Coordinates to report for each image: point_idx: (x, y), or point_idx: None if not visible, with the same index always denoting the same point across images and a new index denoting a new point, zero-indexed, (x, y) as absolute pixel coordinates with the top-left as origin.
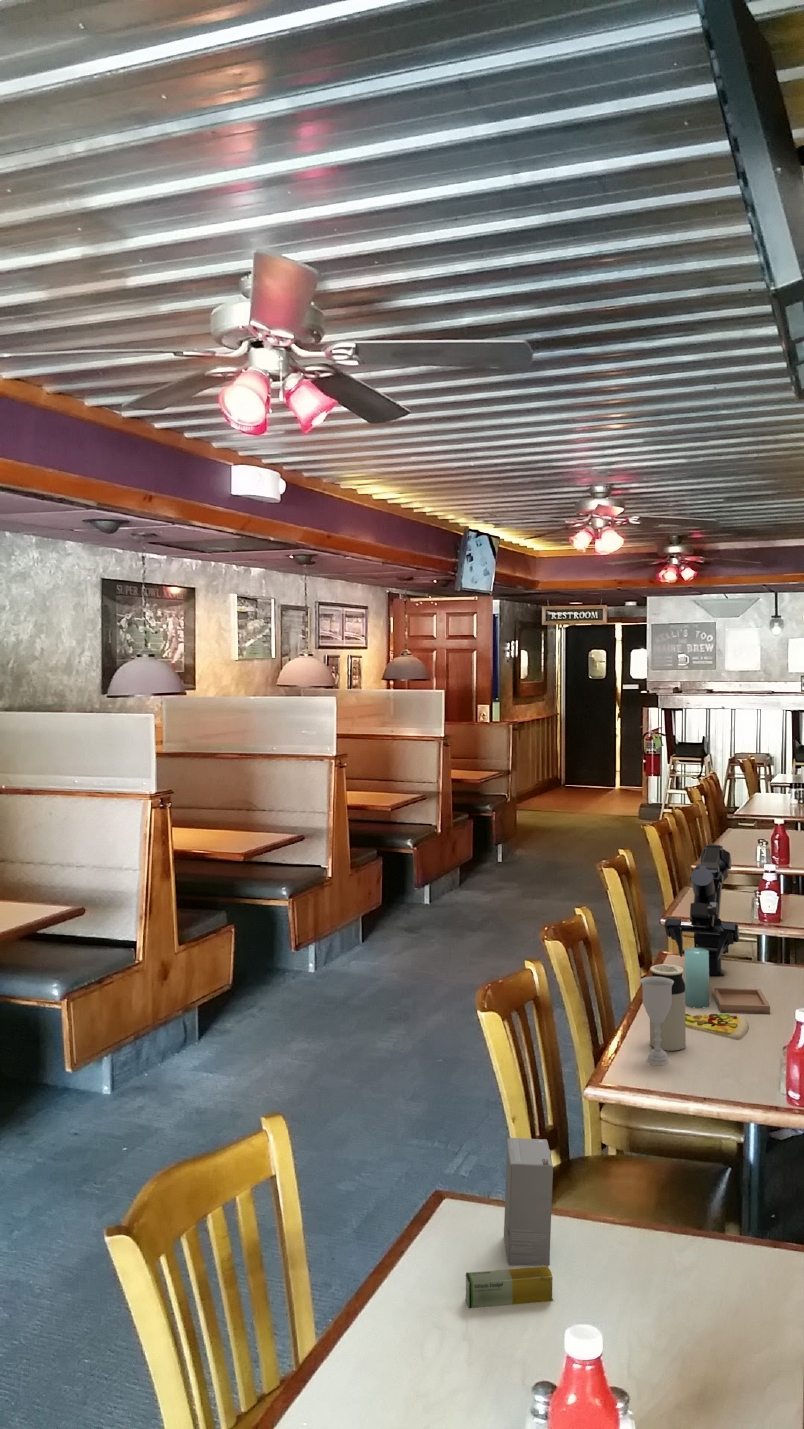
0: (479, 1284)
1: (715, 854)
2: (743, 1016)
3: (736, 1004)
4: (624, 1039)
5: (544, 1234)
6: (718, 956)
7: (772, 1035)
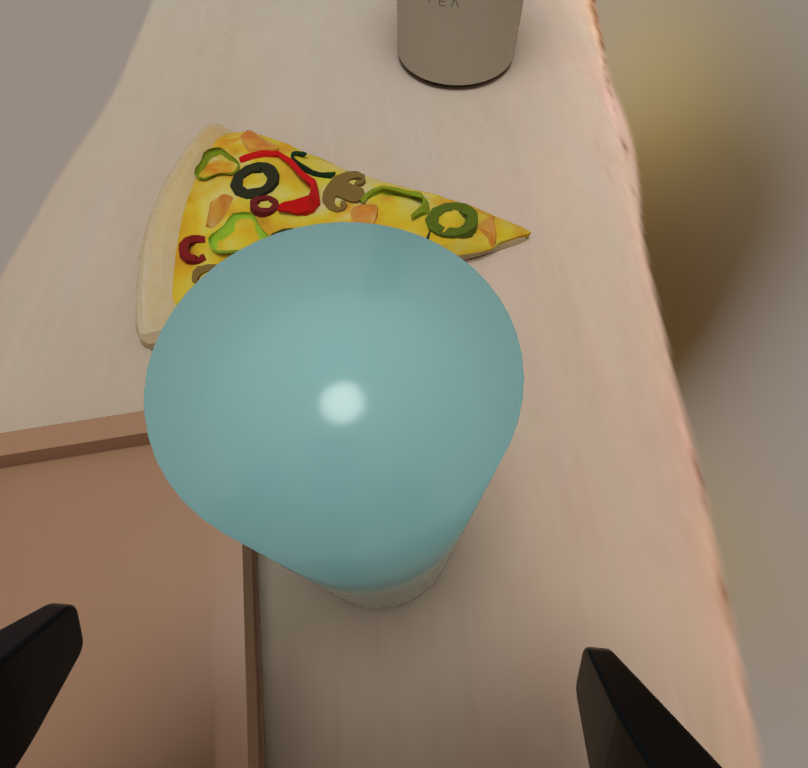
0: None
1: None
2: (143, 285)
3: (140, 422)
4: (603, 66)
5: None
6: (23, 617)
7: (71, 198)
